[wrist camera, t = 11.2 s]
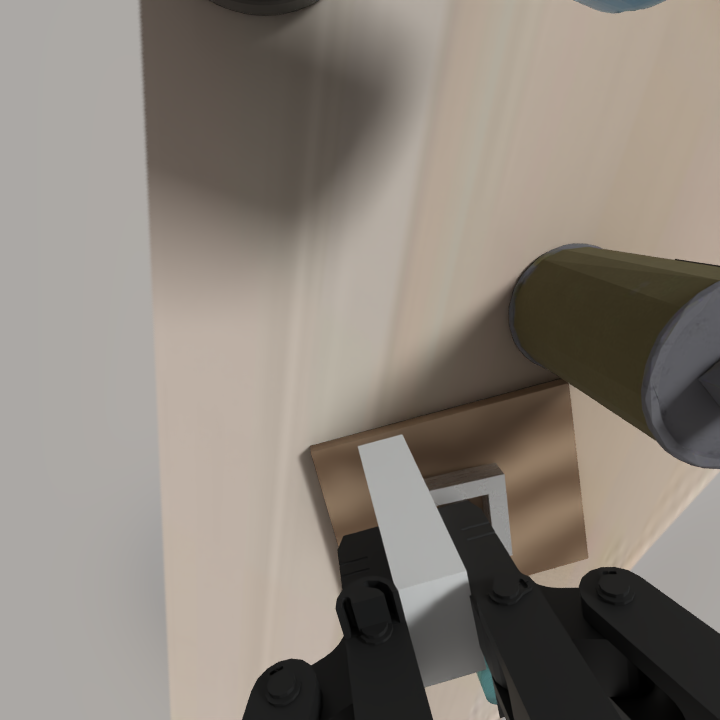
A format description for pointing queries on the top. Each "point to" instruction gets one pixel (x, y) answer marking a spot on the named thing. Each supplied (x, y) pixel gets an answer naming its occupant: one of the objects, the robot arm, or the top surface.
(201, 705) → the top surface
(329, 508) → the board
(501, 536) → the square loop handle
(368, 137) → the top surface
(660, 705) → the robot arm
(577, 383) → the canister
